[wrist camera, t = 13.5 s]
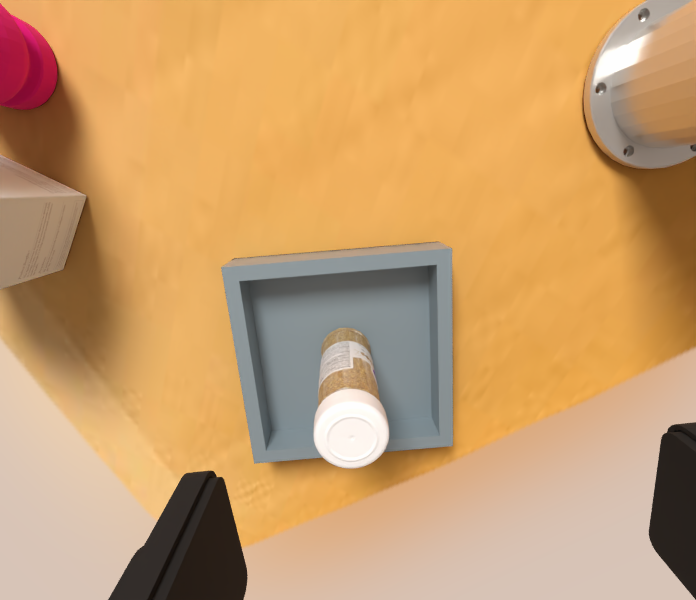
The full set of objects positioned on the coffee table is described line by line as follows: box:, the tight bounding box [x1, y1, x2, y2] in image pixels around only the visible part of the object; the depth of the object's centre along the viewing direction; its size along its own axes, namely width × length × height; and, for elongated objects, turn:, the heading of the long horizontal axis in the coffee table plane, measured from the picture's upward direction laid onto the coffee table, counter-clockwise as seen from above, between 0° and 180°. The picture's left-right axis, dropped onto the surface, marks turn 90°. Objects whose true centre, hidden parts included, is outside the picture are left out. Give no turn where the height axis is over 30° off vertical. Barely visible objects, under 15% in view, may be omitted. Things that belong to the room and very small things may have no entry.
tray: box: [221, 242, 453, 464], centre depth 35 cm, size 18×18×4 cm
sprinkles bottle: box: [314, 328, 389, 468], centre depth 29 cm, size 5×5×14 cm
